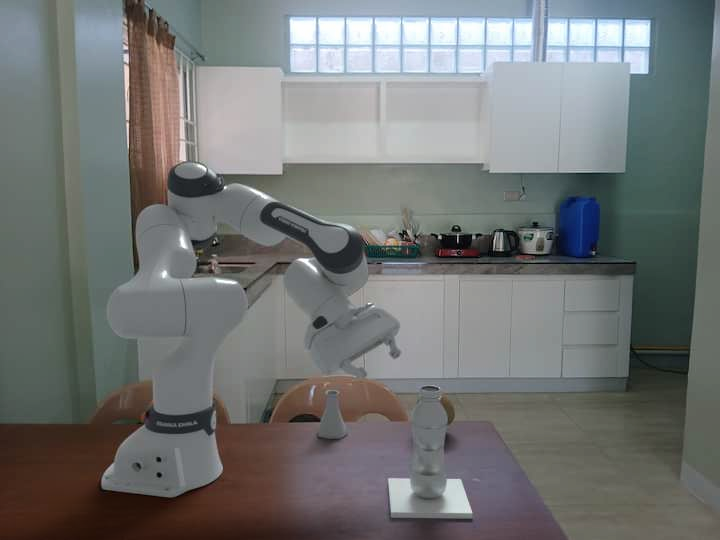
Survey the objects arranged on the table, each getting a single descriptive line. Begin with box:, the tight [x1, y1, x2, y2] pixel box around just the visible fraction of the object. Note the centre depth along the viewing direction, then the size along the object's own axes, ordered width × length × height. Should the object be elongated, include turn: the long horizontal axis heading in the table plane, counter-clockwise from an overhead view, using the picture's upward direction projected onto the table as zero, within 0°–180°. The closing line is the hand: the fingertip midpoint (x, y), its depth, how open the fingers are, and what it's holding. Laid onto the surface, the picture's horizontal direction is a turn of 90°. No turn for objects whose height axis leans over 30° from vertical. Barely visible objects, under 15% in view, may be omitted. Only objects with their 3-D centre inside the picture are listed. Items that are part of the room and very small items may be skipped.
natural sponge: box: [415, 392, 456, 427], centre depth 135 cm, size 9×9×10 cm
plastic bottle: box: [409, 385, 448, 499], centre depth 105 cm, size 6×7×20 cm
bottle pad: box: [387, 477, 473, 520], centre depth 106 cm, size 14×12×1 cm
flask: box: [316, 389, 348, 440], centre depth 134 cm, size 7×7×10 cm
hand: (381, 366), depth 115 cm, fingers open, 8 cm apart
